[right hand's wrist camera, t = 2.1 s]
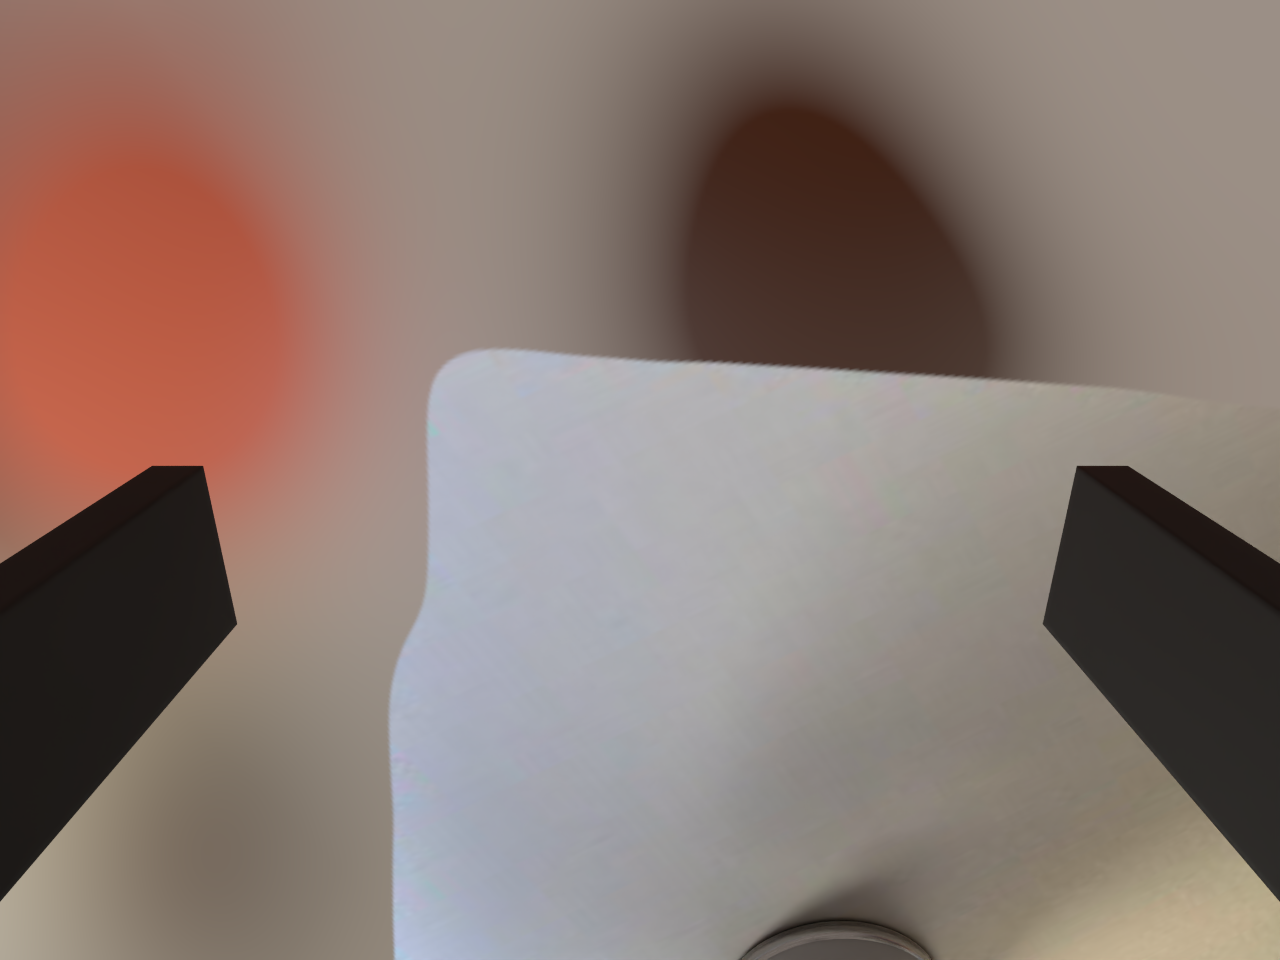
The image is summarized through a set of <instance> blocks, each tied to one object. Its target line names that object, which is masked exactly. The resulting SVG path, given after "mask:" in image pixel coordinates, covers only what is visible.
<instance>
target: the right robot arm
mask: <svg viewBox="0 0 1280 960" xmlns="http://www.w3.org/2000/svg"><path fill="white" fill-rule="evenodd" d="M236 625H237V621H236V616H235V612H234V607H233V603H232V598H231V593H230V589H229V584H228V579H227V575H226V570H225V565H224V561H223V556H222V552H221V547H220V542H219V538H218V533H217V528H216V524H215V519H214V514H213V510H212V505H211V500H210V496H209V491H208V487H207V482H206V477H205V473H204V468H203V466H151V467H150V468H148V469H147V470H145V471H144V472H142V473H140V474H139V475H137V476H136V477H134V478H133V479H131V480H130V481H128V482H126V483H125V484H123V485H122V486H120V487H119V488H117V489H115V490H114V491H112V492H111V493H109V494H108V495H106V496H105V497H103V498H101V499H100V500H98V501H97V502H95V503H94V504H92V505H91V506H89V507H87V508H86V509H84V510H83V511H81V512H80V513H78V514H77V515H75V516H74V517H72V518H70V519H69V520H67V521H66V522H64V523H63V524H61V525H60V526H58V527H56V528H55V529H53V530H52V531H50V532H49V533H47V534H46V535H44V536H42V537H41V538H39V539H38V540H36V541H35V542H33V543H32V544H30V545H28V546H27V547H25V548H24V549H22V550H21V551H19V552H18V553H16V554H14V555H13V556H11V557H10V558H8V559H7V560H5V561H4V562H2V563H0V901H1V900H2V899H3V898H4V896H5V895H6V894H7V893H8V892H9V891H10V889H11V888H12V887H13V886H14V885H15V884H16V882H17V881H18V880H19V879H20V878H21V877H22V875H23V874H24V873H25V872H26V871H27V870H28V868H29V867H30V866H31V865H32V864H33V862H34V861H35V860H36V859H37V858H38V857H39V855H40V854H41V853H42V852H43V851H44V850H45V848H46V847H47V846H48V845H49V844H50V843H51V841H52V840H53V839H54V838H55V837H56V836H57V834H58V833H59V832H60V831H61V830H62V829H63V827H64V826H65V825H66V824H67V823H68V822H69V820H70V819H71V818H72V817H73V816H74V814H75V813H76V812H77V811H78V810H79V809H80V807H81V806H82V805H83V804H84V803H85V802H86V800H87V799H88V798H89V797H90V796H91V795H92V793H93V792H94V791H95V790H96V789H97V788H98V786H99V785H100V784H101V783H102V782H103V781H104V779H105V778H106V777H107V776H108V775H109V773H110V772H111V771H112V770H113V769H114V768H115V766H116V765H117V764H118V763H119V762H120V761H121V759H122V758H123V757H124V756H125V755H126V754H127V752H128V751H129V750H130V749H131V748H132V746H133V745H134V744H135V743H136V742H137V741H138V739H139V738H140V737H141V736H142V735H143V734H144V733H145V731H146V730H147V729H148V728H149V727H150V725H151V724H152V723H153V722H154V721H155V720H156V718H157V717H158V716H159V715H160V714H161V713H162V711H163V710H164V709H165V708H166V707H167V706H168V704H169V703H170V702H171V701H172V700H173V699H174V697H175V696H176V695H177V694H178V693H179V692H180V690H181V689H182V688H183V687H184V686H185V684H186V683H187V682H188V681H189V680H190V679H191V677H192V676H193V675H194V674H195V673H196V672H197V670H198V669H199V668H200V667H201V666H202V665H203V663H204V662H205V661H206V660H207V659H208V657H209V656H210V655H211V654H212V653H213V652H214V651H215V649H216V648H217V647H218V646H219V645H220V643H221V642H222V641H223V640H224V639H225V638H226V636H227V635H228V634H229V633H230V632H231V631H232V629H233V628H234V627H235V626H236ZM1043 625H1044V626H1045V627H1046V628H1047V629H1048V631H1049V632H1050V633H1051V634H1052V635H1053V636H1054V638H1055V639H1056V640H1057V641H1058V642H1059V644H1060V645H1061V646H1062V647H1063V648H1064V649H1065V651H1066V652H1067V653H1068V654H1069V655H1070V656H1071V658H1072V659H1073V660H1074V661H1075V662H1076V663H1077V665H1078V666H1079V667H1080V668H1081V669H1082V670H1083V672H1084V673H1085V674H1086V675H1087V676H1088V677H1089V679H1090V680H1091V681H1092V682H1093V683H1094V684H1095V686H1096V687H1097V688H1098V689H1099V690H1100V692H1101V693H1102V694H1103V695H1104V696H1105V697H1106V699H1107V700H1108V701H1109V702H1110V703H1111V704H1112V706H1113V707H1114V708H1115V709H1116V710H1117V711H1118V713H1119V714H1120V715H1121V716H1122V717H1123V718H1124V720H1125V721H1126V722H1127V723H1128V724H1129V725H1130V727H1131V728H1132V729H1133V730H1134V731H1135V733H1136V734H1137V735H1138V736H1139V737H1140V738H1141V740H1142V741H1143V742H1144V743H1145V744H1146V745H1147V747H1148V748H1149V749H1150V750H1151V751H1152V752H1153V754H1154V755H1155V756H1156V757H1157V758H1158V759H1159V761H1160V762H1161V763H1162V764H1163V765H1164V766H1165V768H1166V769H1167V770H1168V771H1169V772H1170V774H1171V775H1172V776H1173V777H1174V778H1175V779H1176V781H1177V782H1178V783H1179V784H1180V785H1181V786H1182V788H1183V789H1184V790H1185V791H1186V792H1187V793H1188V795H1189V796H1190V797H1191V798H1192V799H1193V800H1194V802H1195V803H1196V804H1197V805H1198V806H1199V807H1200V809H1201V810H1202V811H1203V812H1204V813H1205V814H1206V816H1207V817H1208V818H1209V819H1210V820H1211V822H1212V823H1213V824H1214V825H1215V826H1216V827H1217V829H1218V830H1219V831H1220V832H1221V833H1222V834H1223V836H1224V837H1225V838H1226V839H1227V840H1228V841H1229V843H1230V844H1231V845H1232V846H1233V847H1234V848H1235V850H1236V851H1237V852H1238V853H1239V854H1240V855H1241V857H1242V858H1243V859H1244V860H1245V861H1246V863H1247V864H1248V865H1249V866H1250V867H1251V868H1252V870H1253V871H1254V872H1255V873H1256V874H1257V875H1258V877H1259V878H1260V879H1261V880H1262V881H1263V882H1264V884H1265V885H1266V886H1267V887H1268V888H1269V889H1270V891H1271V892H1272V893H1273V894H1274V895H1275V896H1276V898H1277V899H1278V900H1279V901H1280V563H1278V562H1276V561H1275V560H1273V559H1272V558H1270V557H1269V556H1267V555H1266V554H1264V553H1262V552H1261V551H1259V550H1258V549H1256V548H1255V547H1253V546H1252V545H1250V544H1248V543H1247V542H1245V541H1244V540H1242V539H1241V538H1239V537H1238V536H1236V535H1234V534H1233V533H1231V532H1230V531H1228V530H1227V529H1225V528H1224V527H1222V526H1220V525H1219V524H1217V523H1216V522H1214V521H1213V520H1211V519H1210V518H1208V517H1206V516H1205V515H1203V514H1202V513H1200V512H1199V511H1197V510H1196V509H1194V508H1193V507H1191V506H1189V505H1188V504H1186V503H1185V502H1183V501H1182V500H1180V499H1179V498H1177V497H1175V496H1174V495H1172V494H1171V493H1169V492H1168V491H1166V490H1165V489H1163V488H1161V487H1160V486H1158V485H1157V484H1155V483H1154V482H1152V481H1151V480H1149V479H1147V478H1146V477H1144V476H1143V475H1141V474H1140V473H1138V472H1137V471H1135V470H1133V469H1132V468H1130V467H1129V466H1077V468H1076V473H1075V477H1074V482H1073V487H1072V491H1071V496H1070V500H1069V505H1068V510H1067V514H1066V519H1065V524H1064V528H1063V533H1062V538H1061V542H1060V547H1059V551H1058V556H1057V561H1056V565H1055V570H1054V575H1053V579H1052V584H1051V589H1050V593H1049V598H1048V603H1047V607H1046V612H1045V616H1044V621H1043ZM741 960H932V959H931V958H930V956H929V955H928V954H927V953H926V952H925V951H924V950H923V949H922V948H921V947H920V946H919V945H918V944H916V943H915V942H914V941H912V940H911V939H909V938H908V937H906V936H904V935H902V934H900V933H898V932H896V931H894V930H891V929H888V928H885V927H882V926H878V925H874V924H869V923H864V922H855V921H828V922H819V923H813V924H807V925H803V926H799V927H796V928H793V929H790V930H787V931H784V932H782V933H779V934H777V935H775V936H773V937H771V938H769V939H767V940H765V941H764V942H762V943H760V944H759V945H757V946H756V947H755V948H753V949H752V950H751V951H749V952H748V953H747V954H746V955H745V956H744V957H743V958H742V959H741Z"/></svg>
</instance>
